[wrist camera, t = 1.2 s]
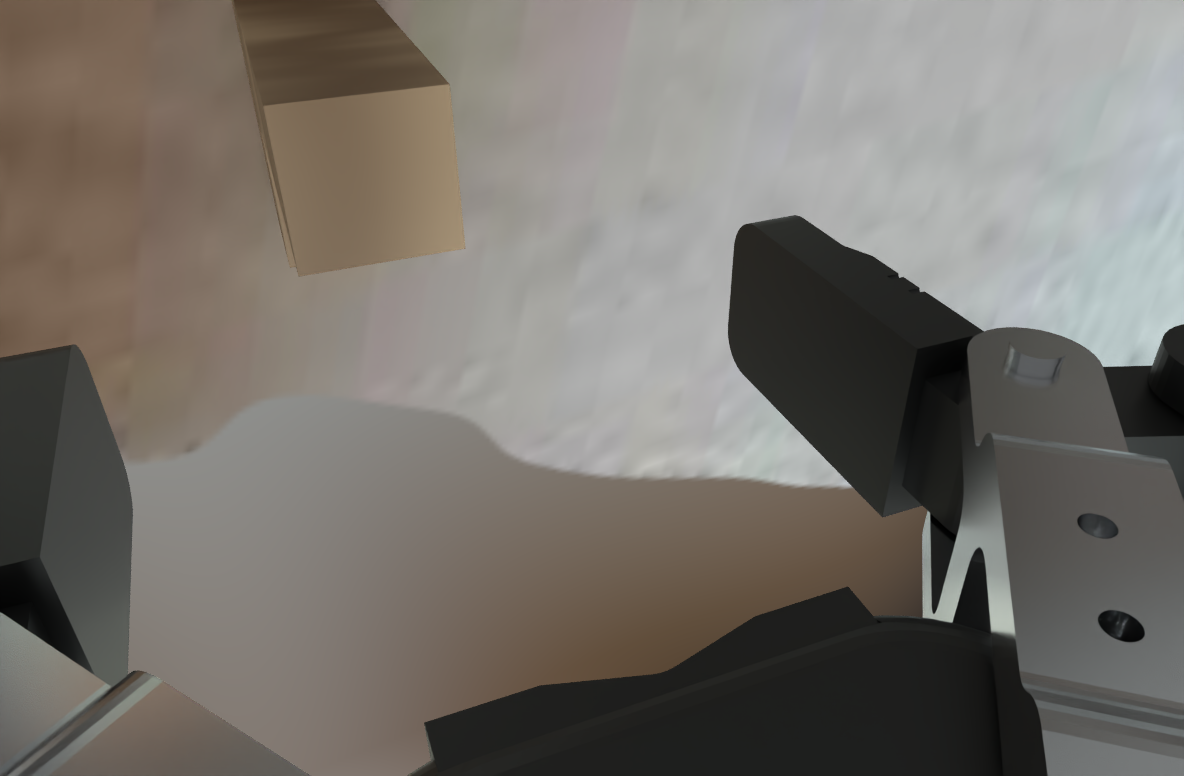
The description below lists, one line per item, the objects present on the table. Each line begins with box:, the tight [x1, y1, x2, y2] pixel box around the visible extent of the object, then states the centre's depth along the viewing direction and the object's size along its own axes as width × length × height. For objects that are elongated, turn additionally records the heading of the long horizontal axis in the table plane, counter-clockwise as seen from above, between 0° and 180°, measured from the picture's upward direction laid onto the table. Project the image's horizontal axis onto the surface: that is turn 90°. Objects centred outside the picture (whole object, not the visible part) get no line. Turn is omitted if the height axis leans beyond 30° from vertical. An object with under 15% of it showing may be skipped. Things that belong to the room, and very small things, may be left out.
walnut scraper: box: [232, 0, 465, 276], centre depth 21 cm, size 3×11×12 cm, turn 0°
